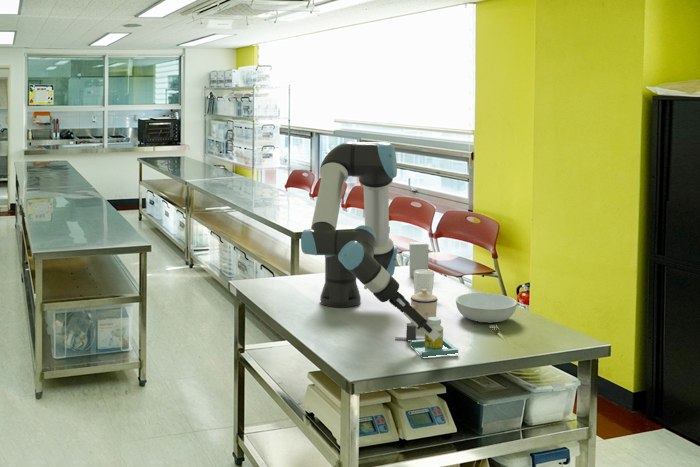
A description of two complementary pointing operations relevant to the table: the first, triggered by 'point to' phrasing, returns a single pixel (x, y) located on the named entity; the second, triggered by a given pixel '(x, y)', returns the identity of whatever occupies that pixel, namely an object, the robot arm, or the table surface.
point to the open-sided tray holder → (420, 348)
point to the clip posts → (410, 333)
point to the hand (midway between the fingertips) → (428, 330)
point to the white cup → (423, 280)
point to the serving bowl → (486, 307)
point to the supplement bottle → (438, 342)
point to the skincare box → (418, 256)
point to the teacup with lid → (424, 304)
